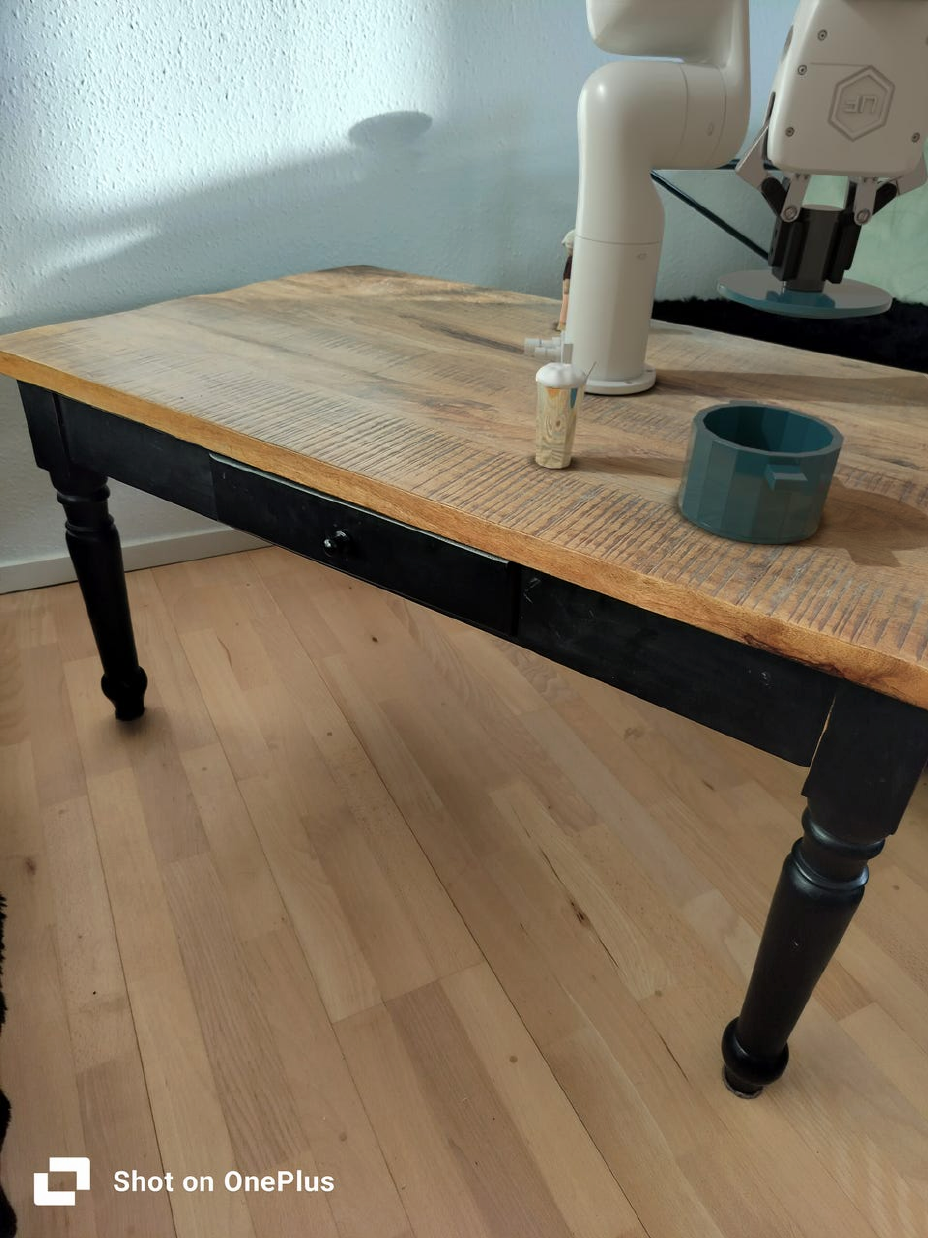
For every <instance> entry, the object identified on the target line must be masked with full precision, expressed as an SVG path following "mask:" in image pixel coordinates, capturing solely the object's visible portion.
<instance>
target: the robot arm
mask: <svg viewBox="0 0 928 1238" xmlns="http://www.w3.org/2000/svg"><path fill="white" fill-rule="evenodd" d="M585 10H586V18H587V24H588V25H587V26H588V31H589V35H590V38H591V40H592V42H593V44H594V45H595V46H596V47H597V49H599V50H601V51H603V52H605V53H609V54H613V55H617V56H618V55H619V56H627V57H643V58H644V57H648V58H668V59H680V60H681V61H673V60H657V59H656V60H653V59H651V60H650V59H623V60H616V61H613V62H612V61H611V62H608V63H606V64H604V65H602V66H600V67H598V68H597V69H595V71H593V72H592V73H591V74H590V75H589V76H588V77H587V79H586V80H585V82H584V83H583V85H582V88H581V90H580V93H579V97H578V103H577V110H576V127H577V128H576V129H577V144H578V145H577V147H578V192H577V205H576V207H577V208H576V215H575V216H576V218H575V228H574V229H575V239H574V249H573V259H572V269H571V279H570V289H569V298H568V308H567V318H566V328H565V330H561V331H560V336H552V337H551V339H541V338H535V337H525V338H524V339H525V340H524V351H523V355H524V356H534V360H538V361H539V360H541V361H542V360H543V361H546V360H551V361H550V362H549V363H563V364H573V365H574V366H576V367H578V368H580V369H581V370H582V371H583V372H584V373H585V374H586V376H587V375H588V373H589V371H590V370H591V368H592V366H593V364H594V363H595V362H596V364H595V366H594V368H593V369H592V371H591V373H590V375H589V377H588V378H587V382H586V387H585V392H584V393H589V394H599V395H629V394H636V393H640V392H643V391H646V390H648V389H650V388H652V387H653V386H654V385H655V382H656V378H657V372H656V370H655V369H654V367H652V366H651V365H649V364H648V363H646V362H645V361H646V353H647V347H648V340H649V333H650V328H651V327H650V326H651V321H652V314H653V307H654V301H655V294H656V287H657V281H658V274H659V268H660V264H661V263H660V261H661V256H662V249H663V242H664V236H665V229H666V213H665V208H664V204H663V201H662V199H661V196H660V194H659V192H658V190H657V188H656V186H655V184H654V181H653V178H652V175H651V172H652V171H653V172H654V171H662V170H665V171H666V170H667V171H668V170H669V171H670V170H671V171H672V170H673V171H704V170H705V171H706V170H714V169H719V168H722V167H725V166H726V165H728V164H729V163H731V161H733V160H735V158H736V157H737V155H738V154H739V153H740V151H741V149H742V147H743V145H744V143H745V140H746V137H747V135H748V130H749V126H750V119H751V110H752V109H751V108H752V107H751V106H752V103H751V102H752V76H751V33H750V32H751V31H750V30H751V29H750V0H585ZM927 138H928V0H800V1H799V3H798V6H797V8H796V11H795V13H794V16H793V18H792V21H791V24H790V26H789V30H788V32H787V36H786V39H785V41H784V45H783V48H782V51H781V55H780V58H779V60H778V65H777V68H776V72H775V74H774V79H773V81H772V85H771V90H770V93H769V96H768V100H767V105H766V108H765V113H764V117H763V121H762V125H761V129H760V130H759V132H758V133H757V135H756V136H755V137H754V138H753V140H752V142H750V144H749V146H748V148H747V149H746V150H745V152H744V154H743V155H742V156H741V158H740V159H739V161H738V162H737V163H736V165H735V168H734V173H735V174H736V176H737V177H739V178H740V179H742V180H743V182H745V183H747V184H749V186H751V187H753V189H756V191H758V192H759V193H760V194H761V196H762V197H763V199H764V200H765V202H766V203H767V205H768V207H770V209H771V210H772V214H773V215H774V216H776V218H775V223H774V226H773V230H772V231H773V232H772V235H771V236H772V237H771V242H770V245H769V249H768V250H769V251H768V255H767V266H769V267H771V270H772V275H774V276H775V277H776V278H777V279H778V280H779V281H786V282H787V281H788V280H791V278H792V274H793V270H794V266H795V261H796V257H797V253H798V248H799V244H800V240H801V236H802V231H803V224H802V223H800V222H799V219H800V215H801V213H800V209H801V206H802V205H803V202H804V199H805V196H806V193H807V190H808V186H809V184H810V180H811V177H812V175H813V176H816V175H817V176H832V177H834V176H835V177H847V179H846V186H845V193H844V200H843V206H842V209H844V212H843V216H842V220H841V224H840V228H839V232H838V236H837V240H836V244H835V248H834V252H833V256H832V260H831V264H830V267H829V271H828V275H827V279H826V280H828V281H829V282H831V283H832V284H840V283H841V282H842V278H844V274H845V271H849V270H850V269H851V267H852V265H853V262H854V258H855V254H856V251H857V246H858V243H859V239H860V236H861V232H862V227H863V226H866V225H868V223H870V221H871V220H872V217H873V216H874V215H875V214H877V213H879V212H880V211H881V210H882V209H883V208H884V207H886V206H887V205H888V204H890V203H892V201H893V200H894V199H895V198H897V197H900V196H903V195H905V194H908V193H910V192H911V191H914V190H916V189H918V188H920V187H922V186H924V185H926V183H927V181H928V169H927V163H926V159H925V153H924V148H925V145H926V140H927ZM765 164H767V165H769V166H772V167H775V168H777V169H778V170H780V171H782V174H781V178H780V180H779V179H778V178H776V176H774V175H772V173H771V174H770V172H768V171H767V170H766V169H765V166H764V165H765ZM879 178H881V179H882V178H883V179H884V178H886V179H884V180H880V179H879Z"/></svg>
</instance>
